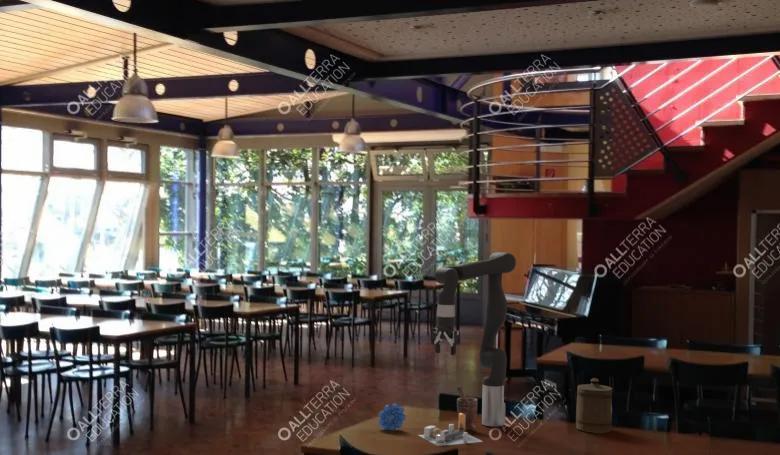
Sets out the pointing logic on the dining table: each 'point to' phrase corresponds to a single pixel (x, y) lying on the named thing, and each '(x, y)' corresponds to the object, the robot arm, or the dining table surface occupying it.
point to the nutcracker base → (457, 440)
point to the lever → (449, 435)
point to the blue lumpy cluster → (391, 417)
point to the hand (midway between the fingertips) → (445, 354)
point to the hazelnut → (436, 432)
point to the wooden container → (594, 407)
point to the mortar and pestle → (467, 408)
